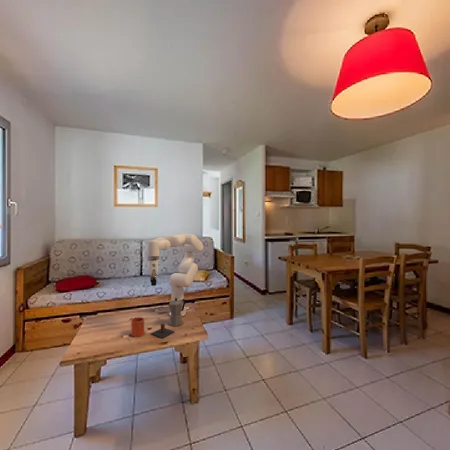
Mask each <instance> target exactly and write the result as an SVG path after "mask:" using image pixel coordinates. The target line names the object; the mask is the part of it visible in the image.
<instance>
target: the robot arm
mask: <svg viewBox="0 0 450 450" xmlns="http://www.w3.org/2000/svg"><path fill="white" fill-rule="evenodd" d="M181 246H183V251H184V256H183V258H182V260H181V262H180V263H179V265H178V268H177V271H178V272H174V273H172V274H171V275H170V277H169V283H170V284H169V285H170V302H171V301H175V298H177V300H179V301H180V300H182V299H184V300H185V290H184V288H189V287H191V286H192V284H193V282H194V280H195V279H196V276H197V274H198V272H199V271H198V270H199V266H198V264H197V263H195V257H194V256H195V255H194V254H193V253H196V254H197V253H202V252H203V250H204V244H203V242H202V241H201V240H200V239H199V238H198V237H197V236H196V234H193V233H180V234H176V235H168V236H161V237H156V238H153V239H150V240H148V241H147V262H149V276H150V277H149V279H150V286H151V287H154V286H157V277H158V276H159V262H160V251H167V250H169V249H170V248H177V247H181ZM182 306H183V305H182ZM188 310H190V307H189V306H184V310H183V311H181V315H182V317H184V316H185V315H186V314H187V311H188ZM168 315H169V317H170V316H171V312H170V311H169V312H168Z"/></svg>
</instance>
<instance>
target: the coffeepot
mask: <svg viewBox="0 0 450 450" xmlns="http://www.w3.org/2000/svg"><path fill="white" fill-rule="evenodd" d="M182 305H183V306H182ZM184 307H186V300H185V298H184V299H182V300H180V301H179V300H177V298H175V301H171V300H170V302H168V308H169V310H170V311H169V313H170V312H171V316H170V315H169V322H168V325H169V326H171V327H180V326H182V325H183V323H184V322H183V316H182V315H181V311H183V310H184Z"/></svg>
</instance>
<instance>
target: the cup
mask: <svg viewBox="0 0 450 450" xmlns="http://www.w3.org/2000/svg"><path fill="white" fill-rule="evenodd" d="M144 334H145V317H142V316H139V317H138V316H137V317H134V318H132V319H131V320H130V336H131V337H134V338H138V337H142V336H143V335H144Z"/></svg>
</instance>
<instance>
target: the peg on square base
mask: <svg viewBox="0 0 450 450" xmlns="http://www.w3.org/2000/svg"><path fill="white" fill-rule="evenodd" d="M165 326H166V325H165V323H161V324H160V328H159V329H157V330H155V331H153V332H150V335H151V336H155V337H157V338H160V339H162V340H163V339H164V338H166V337H169V336H171V335H172V334H174V333H175V330H172V329H169V328H166V327H165Z"/></svg>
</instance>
